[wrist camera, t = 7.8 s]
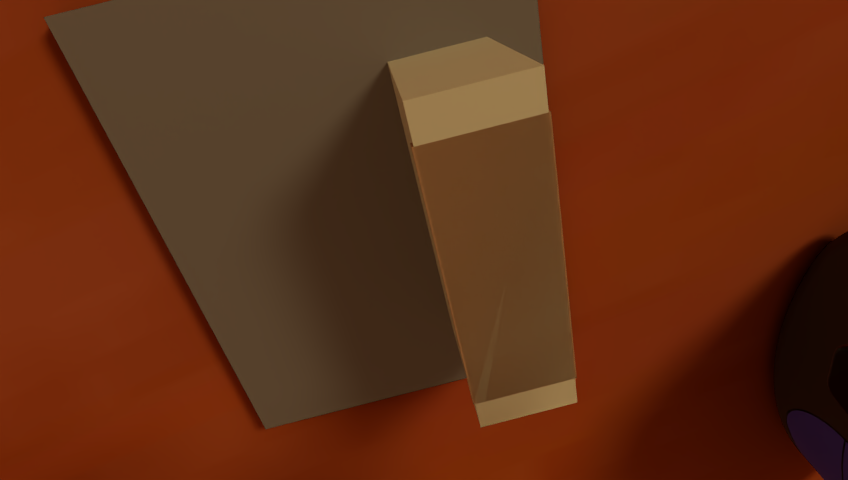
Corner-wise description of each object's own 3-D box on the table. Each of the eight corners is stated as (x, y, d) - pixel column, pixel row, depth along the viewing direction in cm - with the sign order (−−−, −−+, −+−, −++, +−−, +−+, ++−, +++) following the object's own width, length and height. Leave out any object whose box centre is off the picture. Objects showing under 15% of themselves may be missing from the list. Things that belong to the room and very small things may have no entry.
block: (488, 36, 15) (546, 64, 10) (528, 305, 20) (578, 401, 15) (385, 62, 15) (400, 101, 10) (450, 325, 20) (479, 427, 15)
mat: (520, -99, 14) (527, -102, 13) (564, 342, 22) (570, 351, 21) (55, 15, 14) (43, 17, 13) (267, 417, 21) (265, 429, 21)
